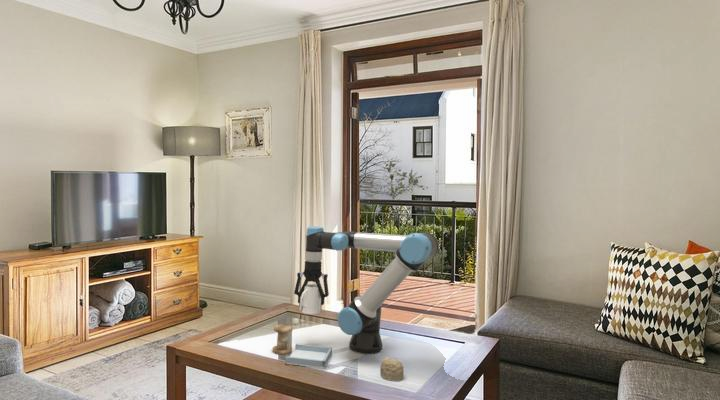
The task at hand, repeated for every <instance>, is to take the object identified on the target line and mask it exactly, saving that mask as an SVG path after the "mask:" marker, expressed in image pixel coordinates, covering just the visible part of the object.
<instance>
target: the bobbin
mask: <svg viewBox="0 0 720 400" xmlns="http://www.w3.org/2000/svg"><path fill="white" fill-rule="evenodd" d="M293 329H294V327H293V326H292V325H290V324H276V325H274V326H273V331H274V332H276V333H277V336H276V338H277V340H276V345H274V346H272V349H271V350H272V353H273V354H276V355H287V354H290V353H291V352H292V346H289V345H288V342H289V341H288V338H289V333H291V332H292V331H293Z"/></svg>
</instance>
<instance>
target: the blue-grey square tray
mask: <svg viewBox="0 0 720 400" xmlns="http://www.w3.org/2000/svg"><path fill="white" fill-rule="evenodd" d="M289 355H290V356H287V355H286V356H284V359H285V360H284V364H285V363H287V364H295V365H300V366H299V367H301V366H306V367H305V368H313V369H320V370H325V368H326V366H327V364H328V363H329V361H330V359H331V358H332V355H333V347H329V346H322V345H321V346H320V345H313V344H302V343H295V347H294V350H293V352H292V353H291V354H289Z"/></svg>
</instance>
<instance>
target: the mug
mask: <svg viewBox="0 0 720 400" xmlns="http://www.w3.org/2000/svg"><path fill="white" fill-rule="evenodd" d="M320 297H321V295H320V292H319V290H318V287H317V284H316V283H307V285H306V286H305V288H304V290H303V293H302V296H301V304H302V306H303V307H302V311H301V313H302V314H304V315H305V314H306V315H319V314H320V313H319V298H320Z"/></svg>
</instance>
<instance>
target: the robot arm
mask: <svg viewBox="0 0 720 400" xmlns="http://www.w3.org/2000/svg"><path fill="white" fill-rule="evenodd" d="M323 249H325V250H332V251H341V252H342V251H345V250H346V249H360V250H368V251H370V250H372V251H381V252H382V251H383V252H394V255H395V258H393V260H392V261H391V262H390V263H389V265H387V266H386V267H385V269H384V270H383V271H382V272H381V273H380V274H379V276H377V278H376V279H375V280H374V281H373V282H372V284H371V285H370V286H369V287H368V288H367V289H366V290H365V291H364V293H362V295H360V296H355V297H354V298H353V299H352V301H351V302H350V303H349V304H348V305H347V306H346V307H343V308H341V310H340V311H339V313H338V315H337V324H338V327H339V328H340V330H341V331H342V332H343V333H344V334H345V335H348V336H350V337H351V338H350V339H349V345H348V348H349V349H350V350H351V351H352V352H355V353H358V354H359V353H360V354H365V355H367V354H368V355H374V354H378V353H381V352H382V351H383V342H382V337H381V333H380V331H381V330H380V327H381V319H382V318H381V316H382V306H383V304H384V302H386V300H387V299H388V298H389V297H391V295H392V293H394V292H395V290H396V289H397V288H398V287H399V286H400V285H401V284H402V283H403V282H404V281H405V279H407V277H408V276H409V275H410V274H411V273H412V272H418V271H419V270H420V269H421V268H422V267H423V265H424V264H425V263H426V262H427V261H429V260H432V259H434V258H435V257H436V256H437V255H438V253H439V250H440V243H439V241H438V239H437V237H436V236H435V235H434V234H432V233H430V232H425V231H424V232H415V233H413V232H411V233H409V234H408V235H403V234H392V233H391V234H389V233H386V234H385V233H373V232H359V231H358V232H355V231H352V230H350V231H349V230H348V231H342V232H341V231H339V232H337V231H336V232H331V231H329V232H327V231H324V227H323V226H308V227H307V228H306V235H305V254H304V259H305V261H304V270H303V271H302V272H301V271H299V272H297V273H296V276H297V278H296V279H297V280H296V283H295V288H294V291H293V294H294V295H296V296H297V303H298V304H299V312H302V307H303V306H302V304H301V296H302V294H303V290H304V288H305V286H306V285H307V284H309V282H310V283H311V282H314V283H315V284H317V287H318V290H319V292H320V295H321V297H320V298H319V314H321V313H322V310H323V309H322V308H323V307H322V306H324V304H325V298H327V297H328V296H329V294H330V292H329V285H328V276H329V274H328V273H322V264H323V263H322V259H323ZM303 276H304V282H303V284H302V285H301V282H302V277H303ZM320 278H322V280H323V285H322V284H321V280H320ZM300 285H301V288H300ZM322 286H323V287H322ZM323 288H324V289H323ZM381 350H382V351H381ZM380 351H381V352H380Z"/></svg>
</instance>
